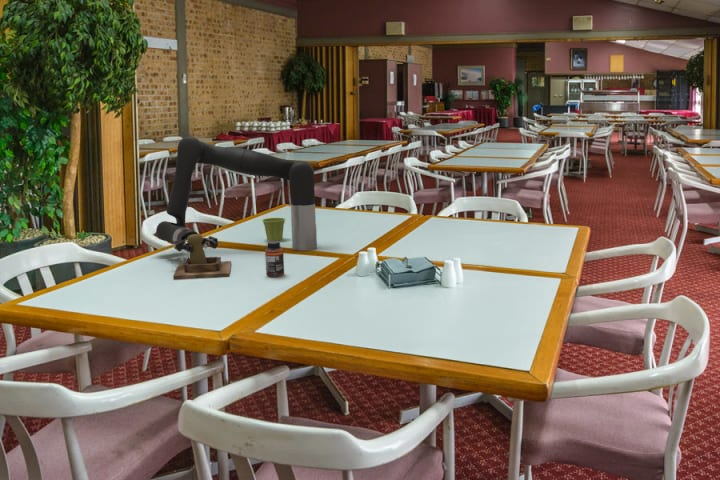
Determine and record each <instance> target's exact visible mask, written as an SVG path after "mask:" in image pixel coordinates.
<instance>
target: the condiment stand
mask: <svg viewBox="0 0 720 480" xmlns="http://www.w3.org/2000/svg"><path fill="white" fill-rule="evenodd" d="M205 257H206V260H207V264H192V265H190V257H189V258H186V260H185V262H181V263H178V264H177V267H176V269H175V271H174V274H173V275H172V277H173V280H190V279H191V280H192V279H209V278H210V279H212V278H214V279H215V278H230V275H231V268H232V260H225V261H224V260H223V261H222V258H221V256H205Z"/></svg>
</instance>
